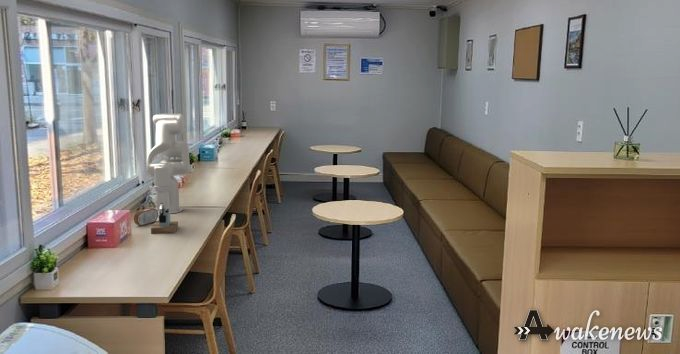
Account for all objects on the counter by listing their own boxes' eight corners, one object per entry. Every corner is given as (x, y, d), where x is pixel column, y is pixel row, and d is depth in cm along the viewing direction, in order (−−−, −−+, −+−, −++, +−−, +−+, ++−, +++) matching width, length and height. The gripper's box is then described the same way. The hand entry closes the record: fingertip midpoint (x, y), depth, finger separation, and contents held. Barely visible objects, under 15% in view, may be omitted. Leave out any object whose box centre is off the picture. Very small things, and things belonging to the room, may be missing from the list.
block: (160, 223, 306) (160, 212, 305) (170, 223, 306) (169, 212, 305) (159, 226, 301) (158, 215, 300) (168, 225, 302) (168, 214, 300)
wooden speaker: (155, 220, 323) (154, 206, 322) (159, 221, 322) (158, 206, 320) (133, 226, 311) (132, 211, 309) (137, 227, 309) (136, 212, 308)
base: (155, 227, 309) (155, 222, 309) (178, 226, 311) (177, 221, 310) (151, 233, 298) (150, 228, 297) (174, 233, 299) (174, 227, 299)
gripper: (158, 185, 308) (160, 216, 311) (152, 192, 291) (154, 224, 294) (172, 185, 309) (174, 215, 312) (167, 192, 292) (169, 224, 295)
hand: (164, 220), depth 303 cm, fingers open, 9 cm apart
